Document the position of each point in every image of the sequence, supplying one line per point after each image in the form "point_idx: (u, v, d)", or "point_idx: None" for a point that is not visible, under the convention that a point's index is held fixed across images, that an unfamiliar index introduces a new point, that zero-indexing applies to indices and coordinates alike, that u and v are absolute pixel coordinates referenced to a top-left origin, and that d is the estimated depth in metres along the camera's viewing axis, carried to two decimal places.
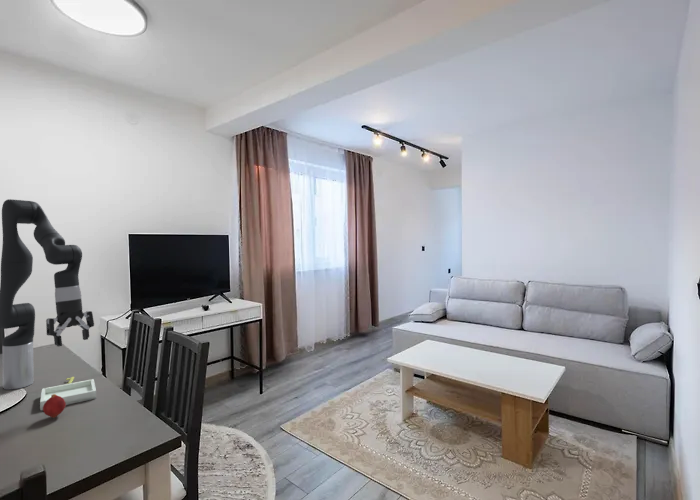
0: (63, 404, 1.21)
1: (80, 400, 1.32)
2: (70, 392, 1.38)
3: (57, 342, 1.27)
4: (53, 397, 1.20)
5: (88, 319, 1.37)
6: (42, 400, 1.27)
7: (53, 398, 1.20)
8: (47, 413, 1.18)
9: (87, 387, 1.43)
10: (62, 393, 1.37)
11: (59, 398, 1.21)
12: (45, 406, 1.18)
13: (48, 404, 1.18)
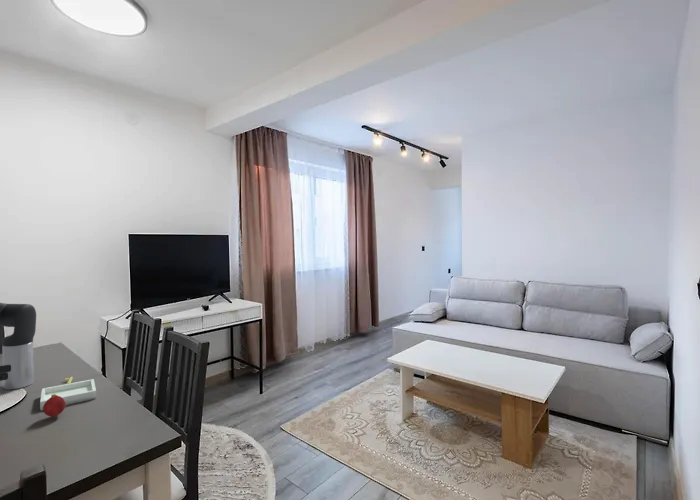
0: (63, 404, 1.21)
1: (80, 400, 1.32)
2: (70, 392, 1.38)
3: None
4: (53, 397, 1.20)
5: None
6: (42, 400, 1.27)
7: (53, 398, 1.20)
8: (47, 413, 1.18)
9: (87, 387, 1.43)
10: (62, 393, 1.37)
11: (59, 398, 1.21)
12: (45, 406, 1.18)
13: (48, 404, 1.18)
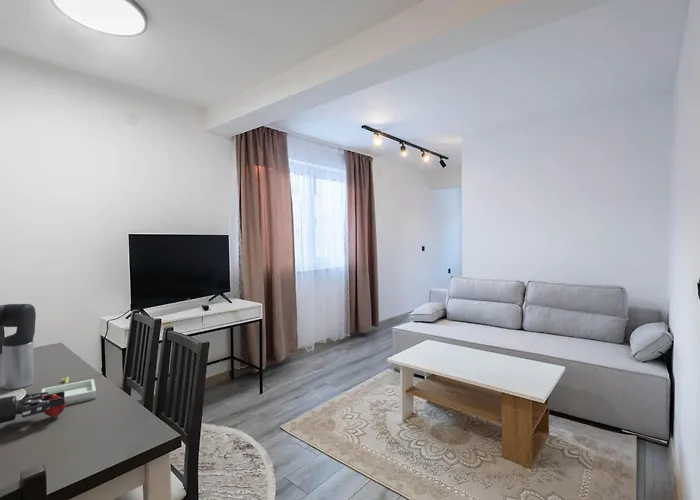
0: (63, 404, 1.21)
1: (80, 400, 1.32)
2: (70, 392, 1.38)
3: None
4: (53, 397, 1.20)
5: None
6: None
7: (53, 398, 1.20)
8: (47, 413, 1.18)
9: (87, 387, 1.43)
10: None
11: None
12: None
13: None
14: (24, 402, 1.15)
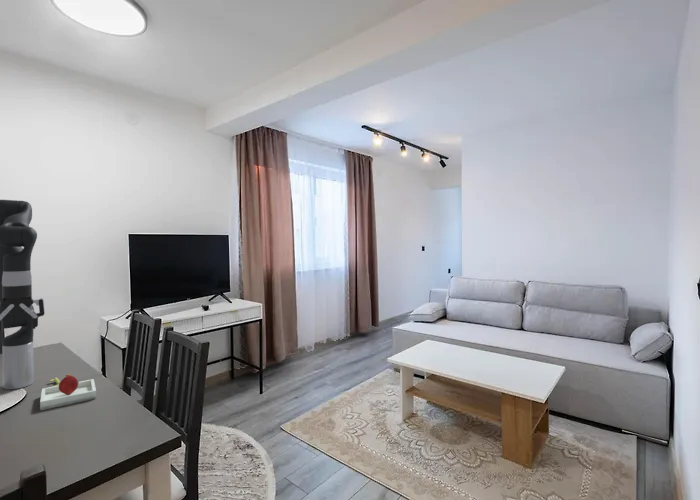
0: (76, 383, 1.36)
1: (80, 400, 1.32)
2: None
3: None
4: (67, 377, 1.35)
5: (39, 307, 1.28)
6: (42, 400, 1.27)
7: (67, 378, 1.35)
8: (62, 391, 1.33)
9: (87, 387, 1.43)
10: (62, 393, 1.37)
11: (73, 378, 1.36)
12: (60, 384, 1.33)
13: (63, 383, 1.33)
14: None
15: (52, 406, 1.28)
